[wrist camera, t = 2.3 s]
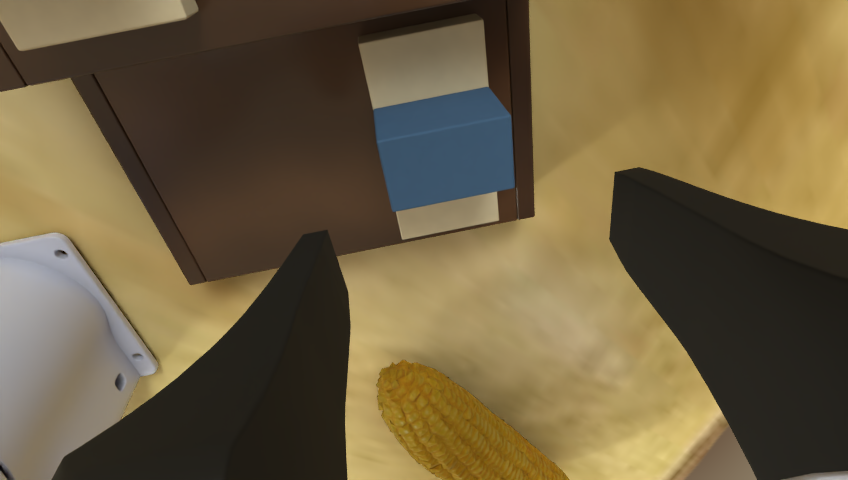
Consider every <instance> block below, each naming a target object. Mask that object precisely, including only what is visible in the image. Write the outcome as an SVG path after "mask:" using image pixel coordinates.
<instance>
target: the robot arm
mask: <svg viewBox="0 0 848 480" xmlns="http://www.w3.org/2000/svg"><path fill="white" fill-rule="evenodd" d="M609 240H610V242H611V244H612V246H613V248H614V249H615V251H616V253H617V255H618V257H619V259H620V261H621V262H622V264H623V266H624V268H625V269H626V271H627V272H628V274H629V275H630V277H631V278H632V279H633V281H634V282H635V283H636V285H637V286H638V287H639V289H640V290H641V291H642V293H643V294H644V295H645V297H646V298H647V299H648V301H649V302H650V303H651V304H652V306H653V307H654V308H655V310H656V311H657V312H658V314H659V315H660V316H661V317H662V319H663V320H664V321H665V323H666V324H667V325H668V327H669V328H670V329H671V330H672V332H673V333H674V334H675V336H676V337H677V338H678V340H679V341H680V343H681V344H682V346H683V347H684V348H685V350H686V351H687V353H688V354H689V356H690V358H691V359H692V361H693V363H694V364H695V366H696V368H697V369H698V371H699V373H700V374H701V376H702V378H703V379H704V381H705V383H706V384H707V386H708V388H709V390H710V391H711V393H712V395H713V397H714V399H715V400H716V402H717V404H718V406H719V407H720V409H721V411H722V413H723V415H724V416H725V418H726V420H727V422H728V423H729V425H730V427H731V429H732V431H733V433H734V435H735V437H736V439H737V441H738V443H739V445H740V447H741V449H742V450H743V452H744V454H745V456H746V458H747V460H748V462H749V464H750V466H751V468H752V470H753V472H754V474H755V476H756V478H757V480H848V229H843V228H838V227H833V226H828V225H823V224H819V223H815V222H811V221H807V220H802V219H798V218H794V217H790V216H786V215H782V214H779V213H775V212H772V211H768V210H765V209H762V208H758V207H755V206H752V205H749V204H745V203H742V202H739V201H736V200H733V199H730V198H727V197H724V196H721V195H718V194H716V193H713V192H710V191H707V190H704V189H702V188H699V187H696V186H693V185H691V184H688V183H685V182H683V181H680V180H677V179H674V178H672V177H669V176H666V175H663V174H660V173H657V172H654V171H651V170H648V169H644V168H640V167H638V168H633V169H628V170H623V171H618V172H615V176H614V189H613V201H612V213H611V226H610V238H609ZM60 250H62V251H65V252H66V253H67V254H64V253H62V252H61V251H60ZM349 343H350V310H349V297H348V290H347V287H346V284H345V281H344V278H343V275H342V272H341V269H340V266H339V263H338V260H337V257H336V254H335V251H334V248H333V245H332V242H331V239H330V236H329V233H328V230H323V231H318V232H313V233H308V234H303V235H302V237H301V238H300V239H299V241H298V242H297V244H296V245H295V247H294V248H293V249H292V251H291V252H290V254H289V255H288V257H287V258H286V260H285V261H284V262H283V264H282V265H281V267H280V268H279V270H278V271H277V272H276V274H275V275H274V277H273V278H272V279H271V281H270V282H269V283H268V285H267V286H266V287H265V289H264V290H263V291H262V292H261V294H260V295H259V296H258V297H257V299H256V300H255V301H254V302H253V303H252V305H251V306H250V307H249V308H248V310H247V311H246V312H245V313H244V314H243V316H242V317H241V318H240V319H239V320H238V321H237V322H236V323H235V324H234V325H233V327H232V328H231V329H230V330H229V331H228V332H227V333H226V334H225V335H224V336H223V337H222V338H221V339H220V340H219V341H218V342H217V343H216V344H215V345H214V346H213V347H212V348H211V349H210V350H208V351H207V352H206V353H205V354H204V355H203V356H202V357H200V358H199V359H198V360H197V361H196V362H195V363H194V364H192V365H191V366H190V367H189V368H188V369H187V370H186V371H184V372H183V373H182V374H181V375H180V376H179V377H178V378H176V379H175V380H174V381H173V382H171V383H170V384H169V385H168V386H166V387H165V388H164V389H163V390H161V391H160V392H159V393H157V394H156V395H155V396H153V397H152V398H151V399H149V400H148V401H147V402H145V403H144V404H143V405H141V406H140V407H138V408H137V409H136V410H134V411H133V412H132V413H130V414H129V415H127V416H126V417H124V418H123V419H122V420H121V418H122V415H123V413H124V411H125V409H126V407H127V405H128V402H129V400H130V398H131V396H132V394H133V392H134V389H135V387H136V385H137V383H138V381H139V378H140V377H141V376H146V375H151V374H154V373H155V372H156V371H157V369H158V366H159V365H158V362H157V361H156V360H155V358H154V357H153V355H152V354H151V353H150V351H149V350H148V348H147V347H146V346H145V344H144V343H143V341H142V340H141V339H140V337H139V336H138V334H137V333H136V332H135V330H134V329H133V327H132V326H131V325H130V323H129V322H128V320H127V319H126V318H125V316H124V315H123V313H122V312H121V311H120V309H119V308H118V306H117V305H116V304H115V302H114V301H113V299H112V298H111V297H110V295H109V294H108V292H107V291H106V290H105V288H104V287H103V285H102V284H101V283H100V281H99V280H98V278H97V277H96V276H95V274H94V273H93V271H92V270H91V269H90V267H89V266H88V264H87V263H86V262H85V260H84V259H83V258H82V256H81V255H80V253H79V252H78V251H77V249H76V248H75V246H74V245H73V244H72V242H71V241H70V239H69V238H68V237H67V236H65V235H63V234H61V233H48V234H43V235H38V236H33V237H28V238H23V239H18V240H13V241H7V242H2V243H0V480H347V463H346V438H345V402H346V387H347V373H348V358H349ZM139 354H140V355H139Z"/></svg>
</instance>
